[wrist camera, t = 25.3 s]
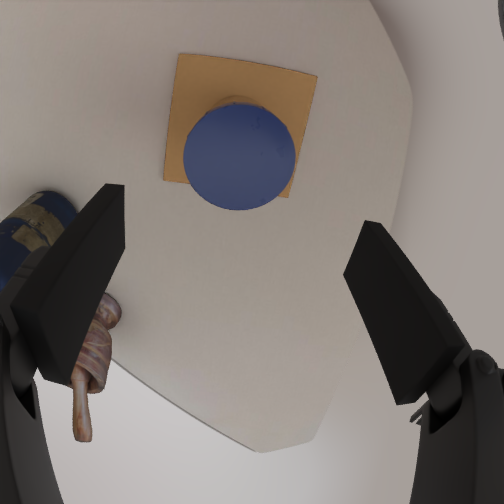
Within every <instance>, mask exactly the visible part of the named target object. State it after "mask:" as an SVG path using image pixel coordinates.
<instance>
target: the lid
mask: <svg viewBox="0 0 504 504" xmlns="http://www.w3.org/2000/svg"><path fill="white" fill-rule="evenodd" d="M187 137H188V138H187V140H186V143H185V147H184V152H183V163H184V169H185V173H186V176H187V178H188V180H189V182H190V184H191V186H192V187H193V188H194V190H195V191H196V192H197V193H198V194H199V195H200V196H201V197H202V198H204V199H205V200H206V201H208V202H210V203H211V204H213V205H216V206H218V207H221V208H224V209H229V210H248V209H253V208H257V207H259V206H262V205H264V204H266V203H268V202H270V201H271V200H273V199H274V198H276V197H277V196H278V195H279V194H280V193H281V192H282V191H283V190H284V188H285V187H286V186H287V184H288V183H289V181H290V179H291V177H292V174H293V171H294V167H295V160H296V153H295V146H294V142H293V140H292V137H291V135H290V133H289V131H288V129H287V126H286V125H285V124H284V123H282V122H281V121H280V120H279V118H277V117H276V116H275V115H274V114H273V113H272V112H270V111H269V110H267V109H266V108H265V107H264V106H259V105H257V104H253V103H249V102H235V101H233V102H231V103H226V104H223V105H220V106H217V107H215V108H213V109H212V110H210V111H206V113H205V115H203V116H202V117H201V118H200V119H199V120H198V122H197V123H196V124H195V126H194V127H193V129H192V130H191V132H189V134H188V135H187Z"/></svg>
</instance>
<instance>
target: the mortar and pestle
mask: <svg viewBox="0 0 504 504" xmlns="http://www.w3.org/2000/svg"><path fill="white" fill-rule="evenodd" d="M120 318H121V309H120V307H119V305H118V304H117V303H116V301H115V300H114V299H112V298H111V297H109V296H108V295H107V294H105V293H104V294H103V297H102V299H101V301H100V304H99V306H98V308H97V311H96V313H95V315H94V318H93V320H92V322H91V325H90V327H89V330H88V332H87V335H86V337H85V340H84V343H83V345H82V348H81V350H80V353H79V356H78V358H77V361H76V364H75V367H74V369H73V372H72V375H71V378H70V381H69V384H68V386H67V387H70V388H72V389H73V433H74V437H75V440H76V441H79V442H91V440H92V427H91V419H90V413H89V408H88V398H87V393H90V394H95V393H100V392H101V391H102V390H103V389H104V387H105V384H106V379H107V373H108V369H109V365H110V361H111V355H112V339H111V336H110V334H109V332H108V330H109V329H111V328H113V327H115V326H116V324H117V323H118V322H119V320H120ZM65 386H66V385H65Z"/></svg>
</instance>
